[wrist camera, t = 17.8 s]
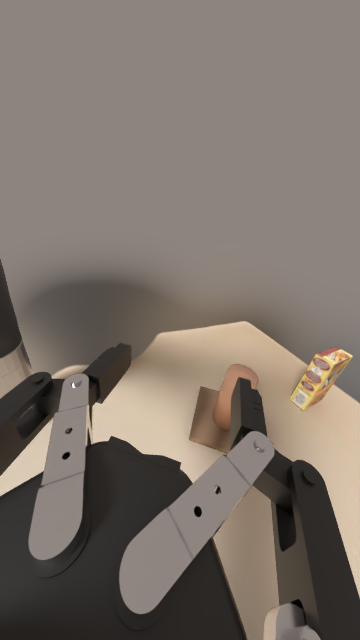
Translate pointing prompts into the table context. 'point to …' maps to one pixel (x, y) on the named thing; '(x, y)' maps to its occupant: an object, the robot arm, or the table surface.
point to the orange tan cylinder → (230, 393)
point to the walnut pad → (208, 423)
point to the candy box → (320, 377)
